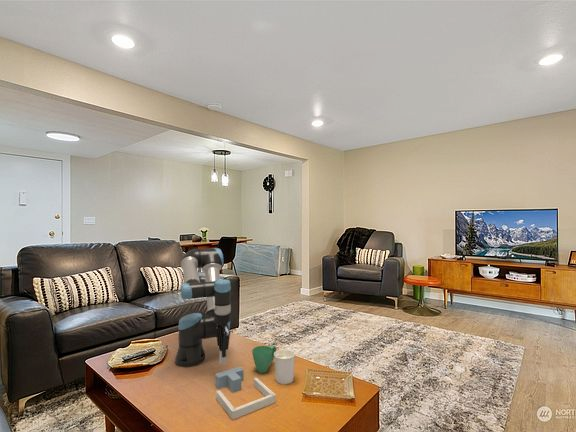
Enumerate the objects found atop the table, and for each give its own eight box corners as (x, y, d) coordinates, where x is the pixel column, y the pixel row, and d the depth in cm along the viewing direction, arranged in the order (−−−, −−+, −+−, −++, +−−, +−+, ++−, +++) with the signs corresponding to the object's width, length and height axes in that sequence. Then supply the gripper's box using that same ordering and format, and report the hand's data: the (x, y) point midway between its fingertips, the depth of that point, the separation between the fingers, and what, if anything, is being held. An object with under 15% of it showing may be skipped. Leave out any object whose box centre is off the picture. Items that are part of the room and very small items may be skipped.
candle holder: (298, 376, 144) (298, 351, 144) (289, 387, 135) (289, 360, 135) (279, 372, 148) (279, 347, 148) (270, 382, 139) (270, 356, 139)
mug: (263, 377, 143) (263, 356, 143) (248, 371, 148) (248, 351, 148) (282, 365, 155) (282, 345, 155) (267, 360, 160) (267, 340, 160)
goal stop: (216, 398, 127) (216, 391, 127) (256, 384, 137) (256, 377, 137) (232, 420, 113) (232, 411, 113) (275, 402, 124) (275, 394, 124)
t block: (215, 385, 137) (215, 373, 137) (239, 377, 144) (239, 366, 144) (224, 395, 129) (224, 383, 129) (249, 386, 135) (249, 375, 135)
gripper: (210, 311, 148) (210, 360, 148) (220, 318, 138) (220, 370, 137) (224, 308, 153) (224, 356, 152) (235, 315, 142) (236, 366, 142)
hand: (222, 363), depth 145 cm, fingers closed
